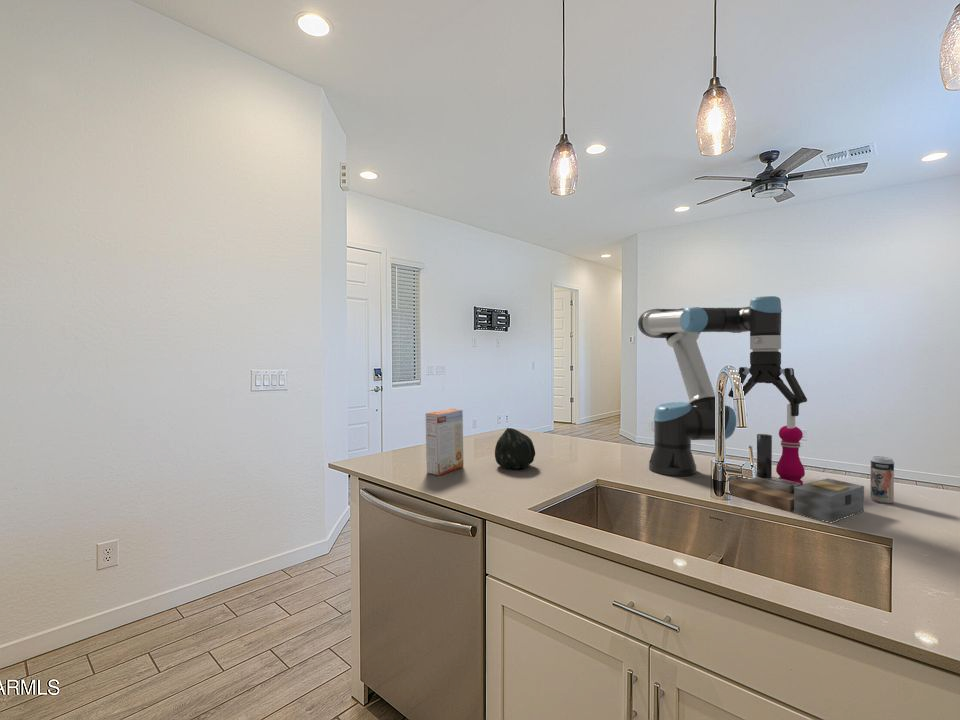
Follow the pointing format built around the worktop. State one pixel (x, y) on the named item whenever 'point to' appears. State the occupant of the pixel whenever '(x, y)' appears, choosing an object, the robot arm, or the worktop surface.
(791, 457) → the pepper mill
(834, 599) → the worktop surface
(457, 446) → the cracker box
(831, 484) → the brown grey flat block
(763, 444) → the black l-shaped bracket
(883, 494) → the beer can
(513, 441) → the squash
